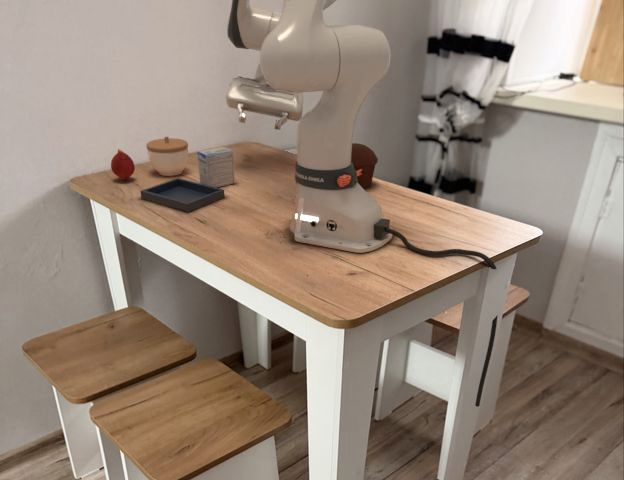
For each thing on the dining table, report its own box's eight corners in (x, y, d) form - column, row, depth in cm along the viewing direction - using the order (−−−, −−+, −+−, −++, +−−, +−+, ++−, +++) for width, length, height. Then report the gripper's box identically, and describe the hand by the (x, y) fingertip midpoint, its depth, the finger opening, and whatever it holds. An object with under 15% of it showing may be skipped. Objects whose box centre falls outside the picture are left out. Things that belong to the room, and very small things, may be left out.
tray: (224, 197, 146) (224, 189, 145) (188, 212, 137) (187, 204, 136) (178, 185, 153) (177, 177, 152) (141, 198, 144) (140, 190, 143)
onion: (139, 177, 158) (135, 146, 154) (132, 184, 153) (127, 152, 149) (118, 176, 159) (113, 145, 154) (110, 183, 154) (104, 151, 150)
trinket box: (198, 172, 163) (195, 136, 157) (166, 181, 156) (162, 144, 151) (174, 164, 168) (170, 129, 163) (142, 172, 162) (137, 137, 156)
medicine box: (225, 179, 158) (223, 146, 153) (235, 183, 155) (233, 149, 150) (199, 185, 153) (196, 151, 149) (209, 190, 150) (206, 155, 146)
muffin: (385, 185, 155) (388, 146, 150) (355, 194, 149) (357, 154, 143) (352, 175, 162) (354, 137, 157) (323, 183, 156) (323, 144, 151)
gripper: (231, 66, 156) (219, 107, 152) (308, 81, 156) (298, 123, 152) (232, 84, 162) (221, 124, 157) (306, 99, 162) (297, 140, 158)
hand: (259, 124), depth 155 cm, fingers open, 8 cm apart
